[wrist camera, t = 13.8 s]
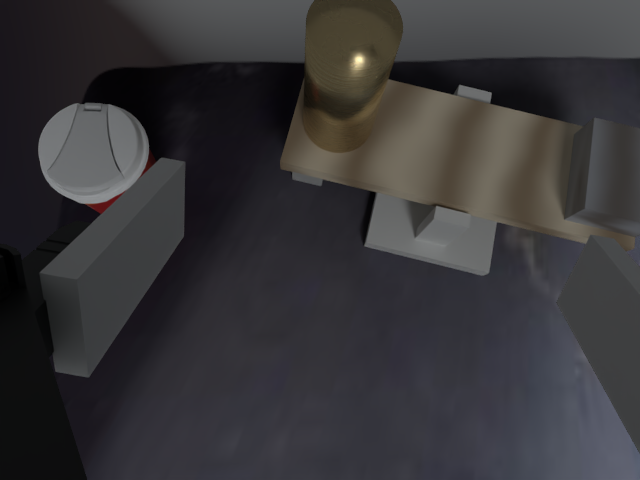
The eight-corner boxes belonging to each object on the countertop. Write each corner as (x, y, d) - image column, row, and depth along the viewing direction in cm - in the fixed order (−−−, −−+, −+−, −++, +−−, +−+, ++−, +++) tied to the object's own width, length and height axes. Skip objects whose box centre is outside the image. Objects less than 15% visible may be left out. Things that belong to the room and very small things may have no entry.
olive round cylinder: (387, 129, 42) (422, 36, 30) (330, 166, 41) (344, 84, 29) (345, 77, 43) (363, -31, 31) (289, 112, 42) (286, 13, 30)
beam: (622, 153, 45) (667, 124, 40) (613, 255, 43) (660, 239, 37) (308, 77, 46) (310, 38, 40) (281, 174, 43) (278, 146, 38)
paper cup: (110, 169, 48) (39, 93, 35) (188, 171, 49) (148, 96, 35) (101, 245, 46) (22, 196, 33) (183, 246, 47) (138, 198, 33)
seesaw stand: (505, 131, 52) (542, 90, 44) (483, 275, 48) (519, 258, 40) (318, 85, 52) (322, 36, 44) (279, 225, 48) (276, 198, 40)
